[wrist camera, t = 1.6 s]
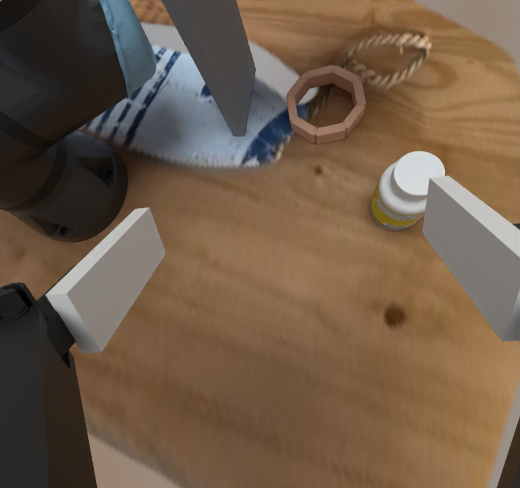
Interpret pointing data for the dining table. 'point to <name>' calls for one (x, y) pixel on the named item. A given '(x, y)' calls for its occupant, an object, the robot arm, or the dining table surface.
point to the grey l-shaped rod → (218, 53)
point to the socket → (321, 78)
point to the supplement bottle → (405, 190)
